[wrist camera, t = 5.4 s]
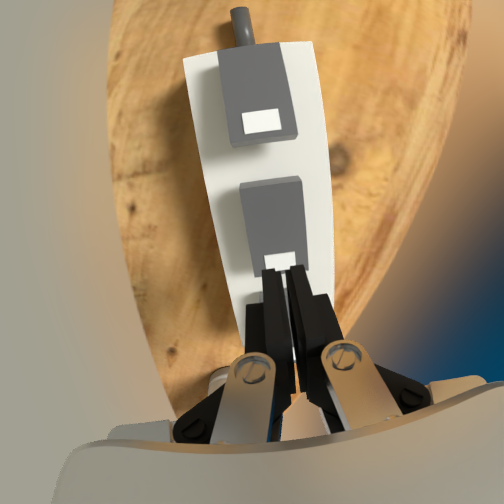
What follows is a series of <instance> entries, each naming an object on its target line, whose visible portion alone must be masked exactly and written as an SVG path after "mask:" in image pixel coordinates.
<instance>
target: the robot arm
mask: <svg viewBox="0 0 504 504" xmlns="http://www.w3.org/2000/svg"><path fill="white" fill-rule="evenodd" d="M261 271H262V288H263V302H261V303H253V304H246V316H245V354H244V355H241V356H240V357H238V358H236V359H235V360H234V361H233V363H232V364H231V366H230V368H229V372H228V376H227V379H226V382H225V383H224V384H223V385H222V386H220V387H219V388H218V389H217V390H215V391H214V392H213V393H211V394H210V395H209V396H208V397H206V398H205V399H204V400H202V401H201V402H200V403H198V404H197V405H196V406H194V407H193V408H192V409H190V410H189V411H188V412H186V413H185V414H184V415H182V416H181V417H180V418H179V419H178V420H177V421H173V422H170V421H169V420H163V421H156V422H147V423H138V424H129V425H120V426H116V427H115V428H113V429H112V430H111V431H110V433H109V434H108V438H107V440H99V441H94V442H90V443H87V444H83V445H81V446H79V447H77V448H75V449H74V450H73V451H72V452H71V453H70V454H69V456H68V457H67V459H66V461H65V463H64V465H63V467H62V470H61V472H60V474H59V477H58V480H57V483H56V487H55V490H54V494H53V498H52V502H51V504H504V381H500V382H492V383H488V384H487V383H486V381H485V380H484V379H483V378H481V377H479V376H467V377H462V378H456V379H449V380H443V381H436V382H430V383H429V385H426V386H425V385H423V384H421V383H419V382H417V381H415V380H412V379H410V378H407V377H405V376H402V375H400V374H397V373H395V372H393V371H390V370H388V369H385V368H383V367H381V366H379V365H376V364H374V363H373V362H372V360H371V359H370V357H369V356H368V354H367V352H366V351H365V349H364V348H363V347H362V346H361V345H360V344H358V343H357V342H355V341H351V340H344V338H343V335H342V332H341V329H340V326H339V324H338V321H337V318H336V315H335V312H334V310H333V307H332V304H331V301H330V299H329V296H328V294H327V293H325V294H319V295H313V293H312V290H311V287H310V283H309V280H308V277H307V274H306V271H305V267H304V265H303V264H301V265H294V266H290V270H285V276H286V286H287V296H288V306H289V317H290V324H289V317H288V311H287V305H286V299H285V293H284V287H283V281H282V275H281V271H276V272H275V268H272V269H264V270H261ZM290 326H291V330H290ZM291 332H292V337H291ZM292 339H293V345H294V352H295V358H296V365H297V371H298V378H299V385H300V392H301V393H302V392H306V395H307V399H309V402H311V403H313V404H315V405H317V406H318V407H319V412H320V415H321V417H322V420H323V423H324V426H325V428H326V431H327V434H328V435H323V436H317V437H311V438H305V439H297V440H289V441H280V439H281V430H282V421H283V412H284V411H285V410H286V409H287V408H288V407H289V406H290V405H291V395H290V394H295V393H296V385H295V370H294V357H293V345H292Z"/></svg>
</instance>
